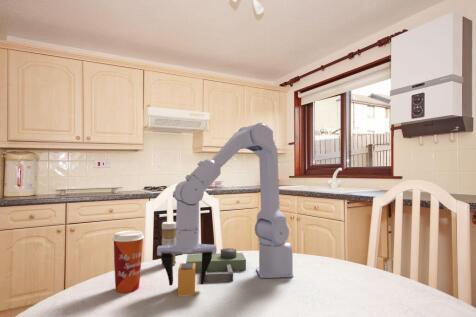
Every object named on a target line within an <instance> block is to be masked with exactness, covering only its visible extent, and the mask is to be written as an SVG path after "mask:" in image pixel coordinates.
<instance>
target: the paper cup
mask: <svg viewBox="0 0 476 317" xmlns="http://www.w3.org/2000/svg"><path fill="white" fill-rule="evenodd" d="M144 238H145V235H144V233H143V231H141V230H123V231H117V232H115V233H114V235H113V237H112V241H113V257H114V259H113V262H114V263H113V264H114V282H115V283H114V284H115V292H117V293H119V294H127V293H128V294H129V293H132V292H135V291H137V290H138V289H139V288H140V279H141V269H142V268H141V267H142V256H143V255H142V254H143V243H144Z"/></svg>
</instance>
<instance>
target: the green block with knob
mask: <svg viewBox="0 0 476 317" xmlns="http://www.w3.org/2000/svg"><path fill="white" fill-rule="evenodd" d="M186 255H187V256H186V261H185V262H186V263H195V273H196V272H198V273H199V272H200V273H201V271H202V254H186ZM246 270H247V259H246V256H244V253H243V252H237V249H236V248H232V247H230V248H229V247H227V248H226V247H225V248H222V249H220V253H216V254H212V259H211V261H210V263H209V265H208V268H207V271H206V274H205V278H204V283H211V282H212V283H213V282H214V283H215V282H233V281H234V271H246Z"/></svg>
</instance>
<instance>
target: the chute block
mask: <svg viewBox="0 0 476 317" xmlns="http://www.w3.org/2000/svg"><path fill="white" fill-rule="evenodd" d="M195 293H196V272H195V263H185V262H184V263H183V262H182V263H179V266H178V269H177V296H178V297H180V296H195V295H196V294H195Z"/></svg>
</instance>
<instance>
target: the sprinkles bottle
mask: <svg viewBox="0 0 476 317" xmlns="http://www.w3.org/2000/svg"><path fill="white" fill-rule="evenodd" d="M161 229H162V234H161V235H162V236H161V246H165V245H175V244H176V221H163V222H162V223H161ZM176 263H177V262H176V254H173V266H174V265H176ZM161 265H162V266H164V265H163V263H162V262H161Z"/></svg>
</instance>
